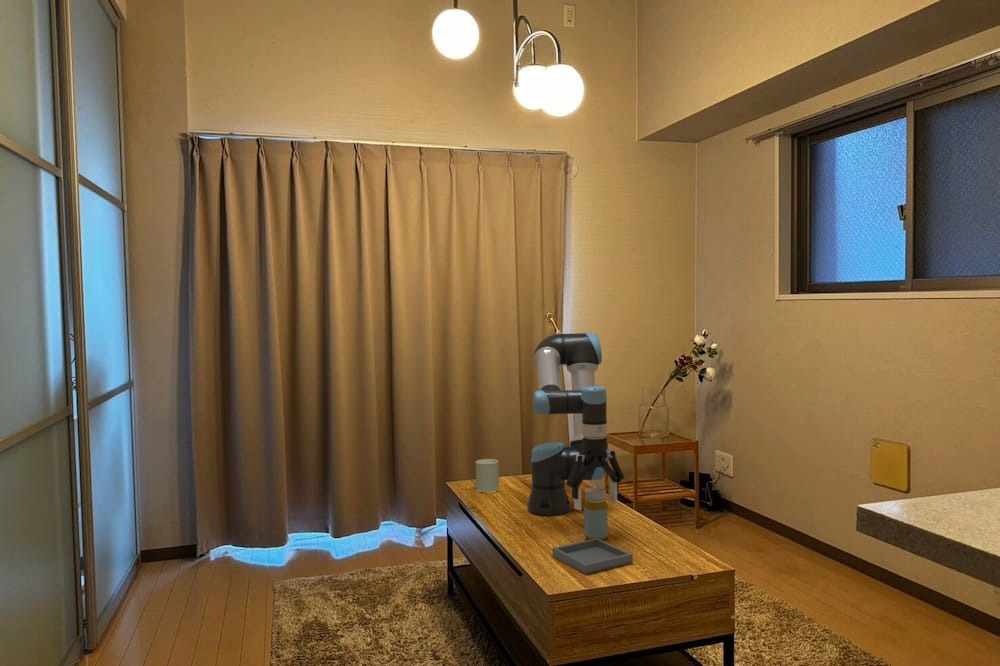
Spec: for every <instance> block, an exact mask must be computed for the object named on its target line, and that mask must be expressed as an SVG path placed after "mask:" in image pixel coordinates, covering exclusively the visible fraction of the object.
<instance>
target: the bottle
mask: <svg viewBox="0 0 1000 666" xmlns="http://www.w3.org/2000/svg"><path fill="white" fill-rule="evenodd" d="M606 492H607V491H606V489H605V488H602V487H589V488H586V489H585V502H584V505H583V506H584V508H583V509H584V537H585V538H586V540H591V539H596V538H598V539H601V540H603V541H606V540H607V539H608V536H609V535H608V534H609V533H608V532H609V531H608V529H609V528H608V503H607V501H606V499H607V496H606V495H607V493H606Z"/></svg>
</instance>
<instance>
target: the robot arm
mask: <svg viewBox="0 0 1000 666" xmlns="http://www.w3.org/2000/svg"><path fill="white" fill-rule="evenodd" d="M602 361H603V356H602V347H601V342H600V339H599V337H598V334H595V333H592V332H591V333H589V332H588V333H587V332H583V333H582V332H581V333H580V332H579V333H578V332H577V333H554V334H551V335H548V336H546V337H545V338H543V339H542V340H541V341H540V342H539V343H538V345H537V346H536V347H535V350H534V353H533V362H534V364H535V366H536V368H537V382H538V385H537V386H538V390H535V391H534V393H533V412H534V413H535V414H537V415H547V416H548V415H562V414H563V415H566V414H567V415H569V414H570V415H571V414H572V422H573V423H572V424H573V438H572V439H571V440H570V441H569V446H566V445H565V443H564V442H561V441H557V442H556V441H553V442H544V443H541V444H538V445H536V446H534V447H533V448H532V450H531V459H530V462H531V490H530V494H529V496H528V497H529V498H528V501H527V508H526V509H527V512H529V511H530V512H532V513H531V514H533V513H534V515H536V514H539V515H538V516H543V515H546V516H547V517H549V516H550V517H552V516H553V517H554V516H555V517H556V516H560V515H564V514H567V513H569V512H570V511H571V502H570V499H569V496H568V493H567V490H566V487H570V488H571V498H572V499H573V509H575V510H578V511H582V488H580V486H581V485H582V483H583V481H591V482H592V481H597V480H598V481H601V480H603V479H604V478H605V477H606V475H607V476H608V477H609V479H611V480H609V503H612V504H615V505H616V504H618V492H619V488H620V487H619V483H621V482H622V480H624V479H625V476H624V473H623V471H622V469H621V466H620V465H619V462H618V460H617V457H616V451H615V450H610V449H608V438H607V436H608V422H607V420H608V418H607V416H608V415H607V413H608V411H607V400H608V396H607V389H606V387H604V386H600V385H598V386H596V378H595V373H596V371H597V370H598V369H599V365H601V364H602ZM559 365H561V366H563V365H564V366H566V370H567V372H569V373H570V378H571V389H570V390H568V389H567V390H566V389H565V390H562V384H561V376H560V367H559ZM608 461H609V462H608ZM609 463H610V464H609ZM610 466H611V467H610ZM530 512H529V513H530ZM546 516H545V517H546Z"/></svg>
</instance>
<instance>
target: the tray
mask: <svg viewBox="0 0 1000 666" xmlns="http://www.w3.org/2000/svg"><path fill="white" fill-rule="evenodd" d="M552 558H554V559H556V560H558V561H559V562H562V563H563V564H565V565H567V566H568V567H571V568H573V570H576V571H578V572H580V573H581V574H583V575H585V576H587V575H592V574H596V573H598V572H603V571H607V570H610V569H611V570H612V569H615V567H616V568H619V567H623V565H624V566H627V564H628V565H631V564H630V563H632V564H634V563H633V558H634V557H633V553H631V552H628V551H626V550H625V549H622V548H619V547H618V546H615V545H613V544H611V543H609V542H606V540H604V541H603V540H601V539H598V538H596V539H591V540H587V539H586V540H584V541H583V540H581V541H578V542H574V543H569V544H563V545H560V546H556V547H552Z"/></svg>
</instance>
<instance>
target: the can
mask: <svg viewBox="0 0 1000 666" xmlns="http://www.w3.org/2000/svg"><path fill="white" fill-rule="evenodd" d="M499 475H500V473H499V460H498V459H493V458H484V459H482V458H481V459H478V460H476V461H475V479H476V480H475V491H476V490H477V491H480V492H491V491H496V490H498V489H499V490H500V485H499V483H500V482H499V478H500V477H499ZM477 491H476V492H477Z"/></svg>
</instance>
